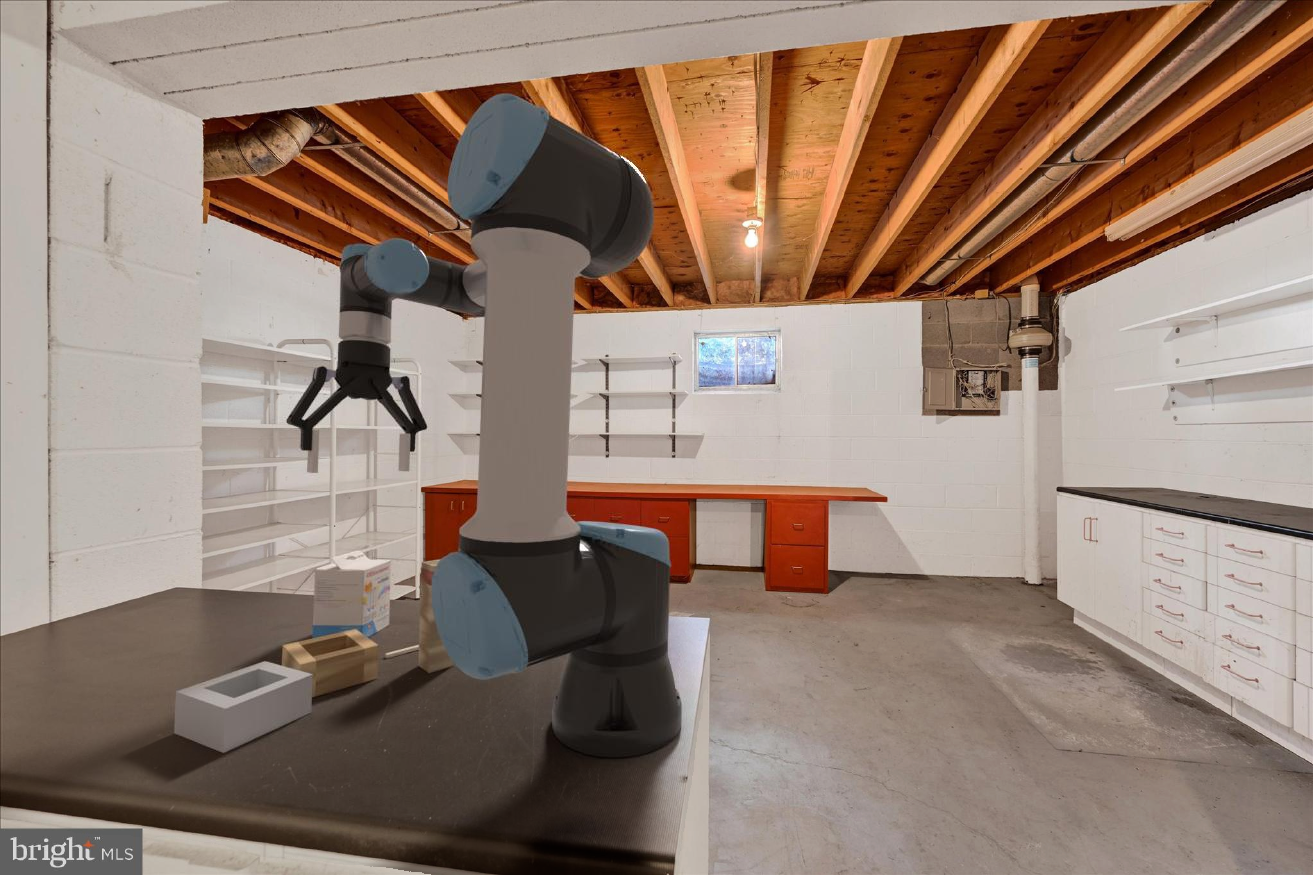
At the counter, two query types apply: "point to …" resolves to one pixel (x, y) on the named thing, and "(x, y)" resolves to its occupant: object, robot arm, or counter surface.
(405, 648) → the thin white stick
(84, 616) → the counter surface
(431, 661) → the red-banded tall box
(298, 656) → the wooden square frame
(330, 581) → the ink box
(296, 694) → the grey square frame
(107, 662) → the counter surface
